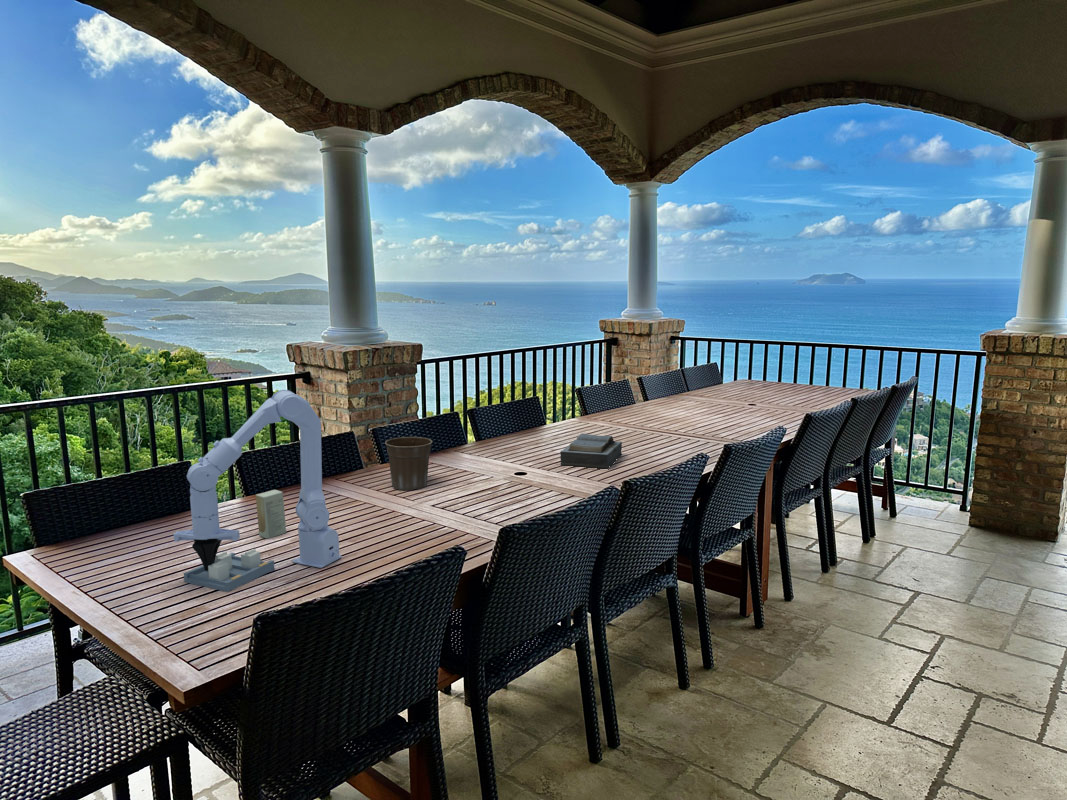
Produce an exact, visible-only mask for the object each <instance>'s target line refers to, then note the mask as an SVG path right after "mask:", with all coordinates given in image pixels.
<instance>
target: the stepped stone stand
mask: <svg viewBox="0 0 1067 800" xmlns="http://www.w3.org/2000/svg"><path fill="white" fill-rule="evenodd" d="M622 444H623V441H614V438H613V435H597V434H590V433H589V434H587V433H580V434H578V435H577V437H576V439H574V440H573V441H572V442H570V443H569V445H568V446H566V447H565V448H563V449H562V450H560V452H559V456H560V466H561V467H565V466H573V467H572V468H576V467H586V468H585V469H588V468H597V469H596V470H600V469H608V468H609V466H611V465H612V464H613V463H614V462H615V461H616V459H618V458H619V457H620V456H621V457H622V455H623V454H622V450H623V449H622V448H623V446H622ZM619 459H620V458H619ZM619 459H618V460H619ZM616 462H617V461H616ZM616 462H615V463H616ZM615 463H614V464H615ZM614 464H613V465H614ZM613 465H612V466H613ZM612 466H611V467H612ZM609 469H610V468H609ZM609 469H608V470H609Z"/></svg>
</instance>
